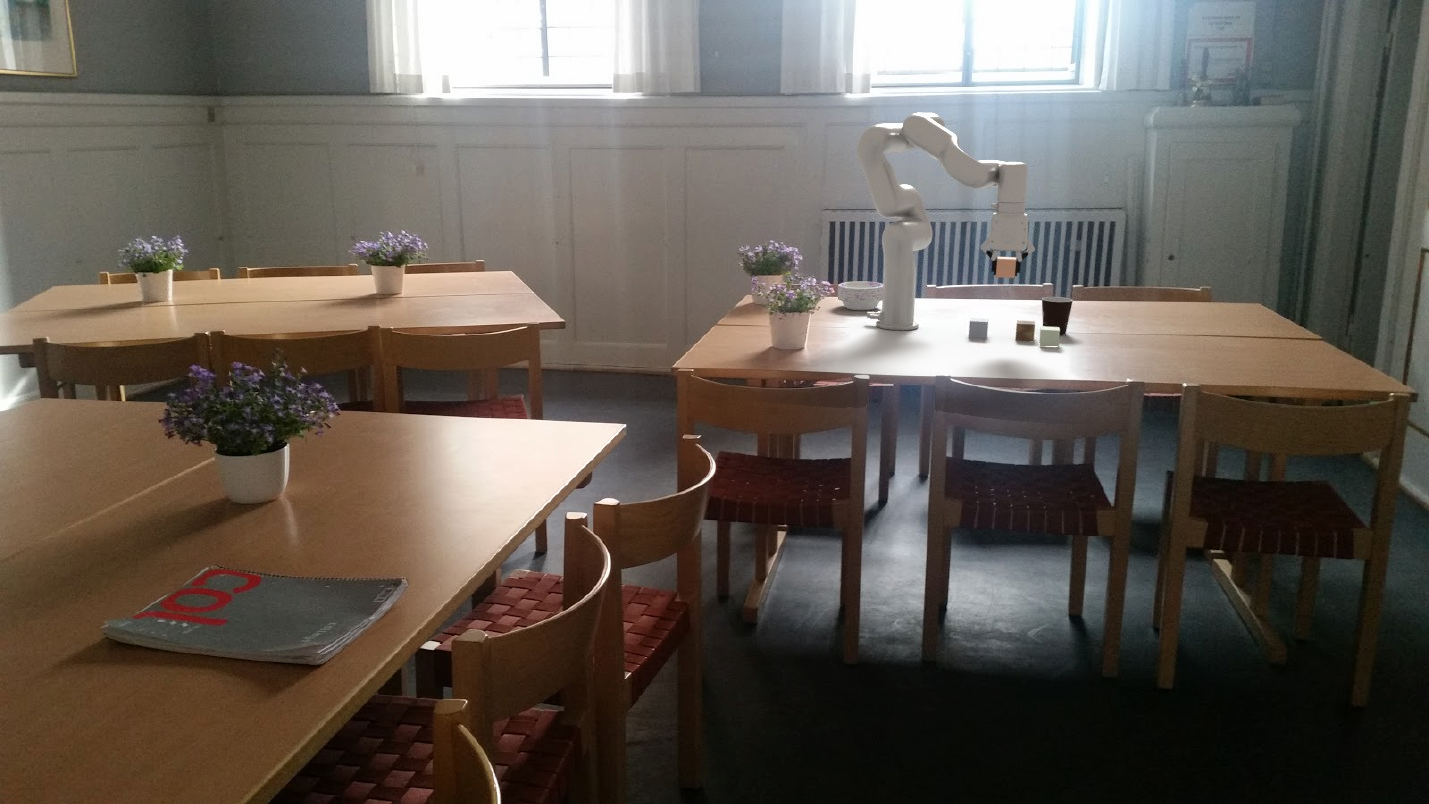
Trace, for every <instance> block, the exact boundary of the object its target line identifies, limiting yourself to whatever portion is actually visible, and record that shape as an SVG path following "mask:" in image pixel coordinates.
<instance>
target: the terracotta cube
mask: <svg viewBox="0 0 1429 804" xmlns="http://www.w3.org/2000/svg"><path fill="white" fill-rule="evenodd" d="M1016 260H1017V256H1015V257H1013V256H997V268H996V275H995V278H1002V279H1003V278H1005V279H1008V278H1009V279H1015V277H1016V276H1015V267H1016Z"/></svg>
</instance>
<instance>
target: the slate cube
mask: <svg viewBox="0 0 1429 804" xmlns="http://www.w3.org/2000/svg"><path fill="white" fill-rule="evenodd" d="M968 325H969V326H968V327H969V328H968V338H969V339H979V340H980V339H982V340H983V339H984V340H987V338H988V330H989V329H988V327H989V318H979V317H978V318H977V317H970V319H969V324H968Z"/></svg>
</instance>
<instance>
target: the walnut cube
mask: <svg viewBox="0 0 1429 804" xmlns="http://www.w3.org/2000/svg"><path fill="white" fill-rule="evenodd" d="M1015 330H1016V331H1015V341H1016V342H1030V341H1035V331H1036V321H1035V320H1019V319H1018V320H1016V328H1015Z"/></svg>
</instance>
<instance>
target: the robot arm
mask: <svg viewBox="0 0 1429 804" xmlns="http://www.w3.org/2000/svg"><path fill="white" fill-rule="evenodd" d="M959 146H960V138H959V136H958V135H957V134H955V133H954V132H952V131H950V130H949V129H948V128H946V124H945V121H944V119H943V118H942V117H941V116H939V114H936V113H933V112H917V113H916V112H915V113H912V114H910V115H909V116H907V117H905V119H904V120H903V122H900V123H877V124H874V125H871V126H869V127H867V128H866V129H864V131H863V132H862V133H861V135H860V137H859V140H858V142H857V148H856V155H857V160H858V163H859V166H860V168H861V170H862V172H863V174H864V177H865V181H866V183H867V187H868V190H869V192H870V195H871V197H872V202H873V204H874V207H875V210H876V212H877V213H878V215H879V216H880V217H881V218H884V219H898V220H896V221H893V222H891V223H889V224H888V225H887V226H886V227H885V228H884V230H883V232H882V235H881V245H882V251H883V280H882V284H883V300H882V305H881V310H880V311H877V312H874V311H867V312H866V318H867V319H871V320H877V321H875V323H876V324H875V325H876V327H877V328H880V329H883V330H891V331H911V330H916V329H918V328H919V322H917V321H915V317H914V316H915V301H916V300H915V297H916V279H917V278H916V277H917V262H916V258H915V254H914V252H916V251H921V250H924V249H926V248H928V246H929V245H931V243H932V240H933V228H932V224H931V222H930V218H929V216H928V213H927V210H926V207H925V204H924V201H923V199H922V196H921V194H920V192H918V190H917V188H915V187H913V186H912V185H909V184H900V183H899V180H898V179H897V176H896V172H895V170H894V168H893V166H892V164H891V163H890V162H889V160H888V159H887V157H886V154H900V153H905V152H908V151H912V150H915V149H919V150H920V151H923V153H925V154H927V155H929V156H930V157H931V158H933V159H935V160H936V161H937V162H938V163H939V164H940V166H941V167H942V169H943V170H944V171H945V172H946V173H947V174H948V175H949V176H950V177H952V178H953V179H954V180H956V181H957V182H959V183H960V184H962V185H964V186H965V187H967V188H969V189H972V190H981V189H982V190H983V189H992V188H997V194H996V202H995V203H991V204H990V209H993V210H995V212H994V213H992V217H991V221H990V227H989V236H988V238H986V240H985V241H984V242H982V244H981V245H980V247H979V248H980V250H981V251H983V253H985V255H987V257H989V258H990V259H991V272H992V273H993V276H996V268H997V257H998V254H999V252H1015V254H1016V267H1015V277H1018V274H1021V266H1022V261H1023V260H1024V259H1025V258H1027V257H1028V256H1029V255H1031V254H1032V253H1033V252H1035V251H1036V248H1035V246H1034V244H1033V243H1032V242H1031V241H1030V239H1029V237H1028V236H1029V234H1028V233H1029V219H1028V214H1027V213H1025V210H1026V209H1025V208H1026V197H1027V186H1028V175H1029V174H1028V173H1029V167H1028V164H1027V163H1025V162H1019V161H1018V162H1017V161H1008V162H1006V161H1001V160H995V159H994V160H993V159H991V160H989V159H987V160H977V159H975V158H974V157H972V156H970V155H969V154H967V153H966V152H965V151H963V149H961V148H960V147H959ZM1027 248H1028V249H1027ZM1026 249H1027V250H1026ZM991 250H993V252H992V251H991ZM1025 250H1026V251H1025ZM1023 251H1024V252H1023ZM1022 252H1023V253H1022Z"/></svg>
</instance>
